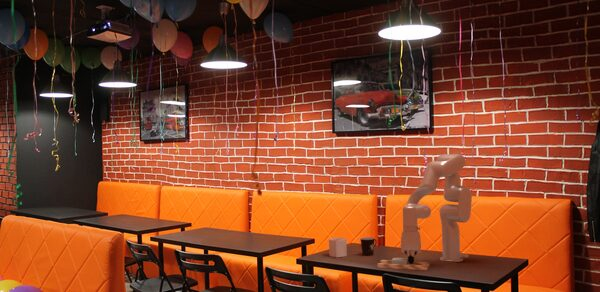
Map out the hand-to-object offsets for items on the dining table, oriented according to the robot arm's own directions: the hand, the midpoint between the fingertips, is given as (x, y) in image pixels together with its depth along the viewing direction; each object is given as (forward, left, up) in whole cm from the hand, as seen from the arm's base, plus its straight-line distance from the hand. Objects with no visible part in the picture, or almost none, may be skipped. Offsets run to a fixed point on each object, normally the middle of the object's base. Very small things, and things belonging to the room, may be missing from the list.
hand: (411, 263), depth 281 cm
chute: (+4, 0, -3) cm, 5 cm away
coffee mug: (+29, -32, -3) cm, 44 cm away
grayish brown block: (+6, 0, -2) cm, 6 cm away
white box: (+47, -25, -3) cm, 54 cm away
